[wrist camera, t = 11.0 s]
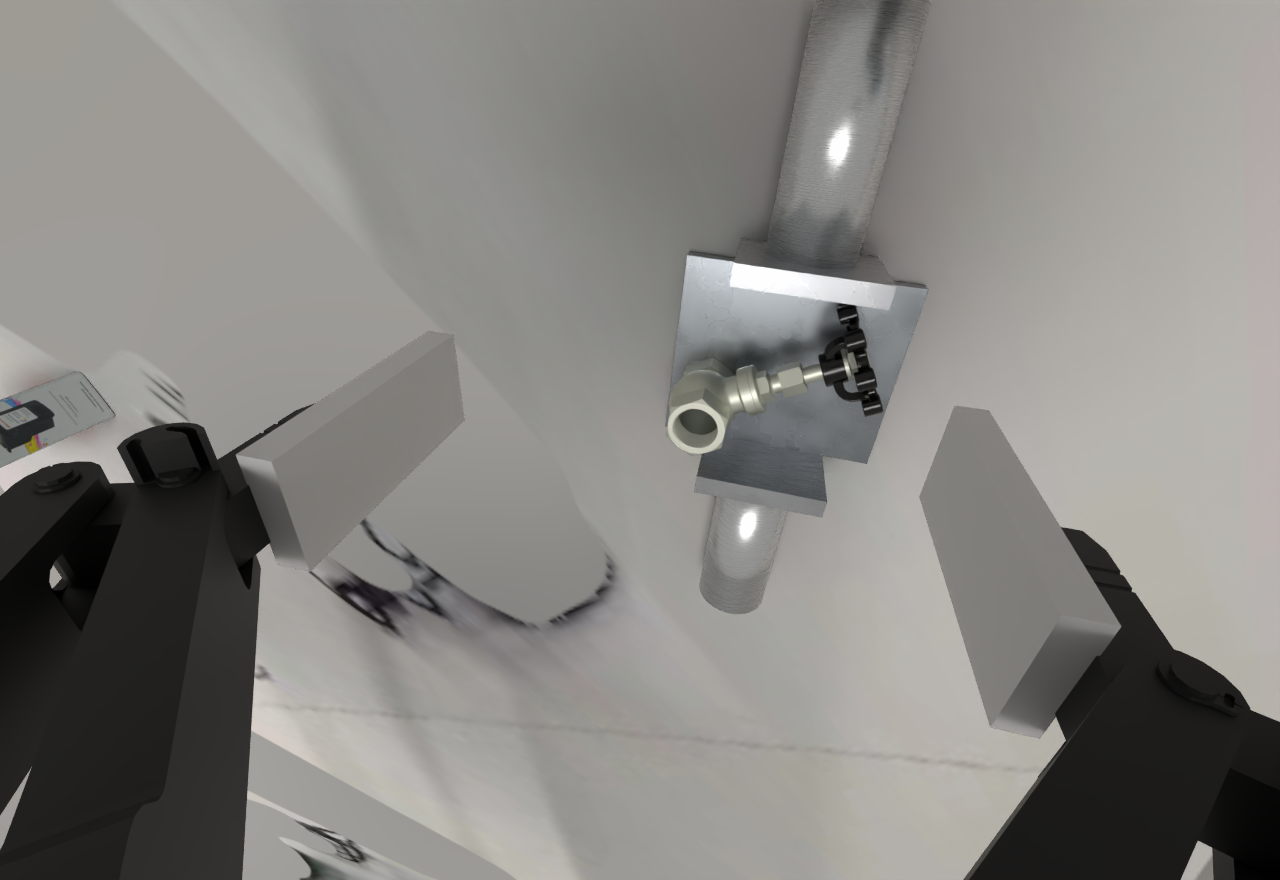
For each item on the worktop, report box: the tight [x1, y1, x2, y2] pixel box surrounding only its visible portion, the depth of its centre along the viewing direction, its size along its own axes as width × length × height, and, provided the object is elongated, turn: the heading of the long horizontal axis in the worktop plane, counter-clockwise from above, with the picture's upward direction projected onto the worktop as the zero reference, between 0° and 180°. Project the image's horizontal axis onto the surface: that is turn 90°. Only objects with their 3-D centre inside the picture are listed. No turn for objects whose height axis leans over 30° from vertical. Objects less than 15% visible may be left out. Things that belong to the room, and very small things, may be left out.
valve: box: [666, 304, 884, 455], centre depth 34 cm, size 7×7×12 cm
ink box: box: [0, 372, 115, 468], centre depth 50 cm, size 9×5×12 cm, turn 110°
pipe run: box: [665, 0, 930, 614], centre depth 35 cm, size 37×14×6 cm, turn 175°
